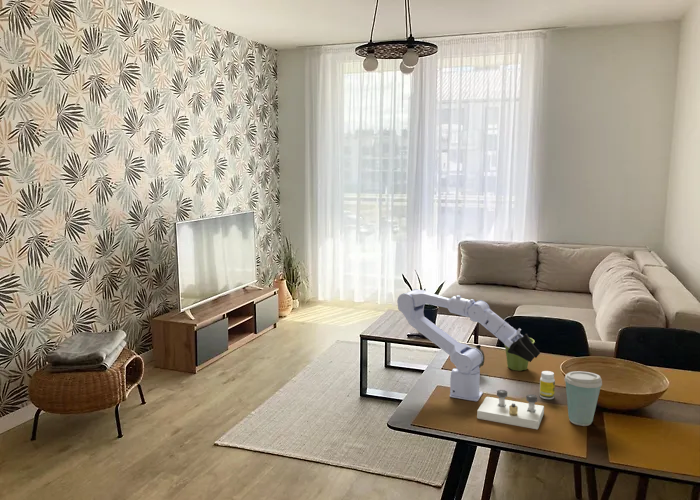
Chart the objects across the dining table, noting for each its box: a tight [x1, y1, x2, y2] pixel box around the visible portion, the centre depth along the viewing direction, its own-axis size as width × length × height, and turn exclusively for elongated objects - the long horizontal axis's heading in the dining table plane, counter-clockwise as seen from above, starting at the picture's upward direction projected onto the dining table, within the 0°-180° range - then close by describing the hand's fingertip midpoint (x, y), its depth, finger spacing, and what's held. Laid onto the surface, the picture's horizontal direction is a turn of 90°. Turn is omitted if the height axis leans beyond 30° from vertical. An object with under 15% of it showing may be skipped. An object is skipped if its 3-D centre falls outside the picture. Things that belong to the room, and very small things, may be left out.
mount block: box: [476, 396, 545, 430], centre depth 178 cm, size 18×12×2 cm, turn 63°
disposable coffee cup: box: [564, 370, 603, 427], centre depth 173 cm, size 11×11×15 cm
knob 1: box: [496, 389, 508, 406], centre depth 180 cm, size 3×3×4 cm
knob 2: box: [526, 394, 538, 411], centre depth 176 cm, size 3×3×4 cm
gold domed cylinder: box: [509, 404, 518, 416], centre depth 174 cm, size 2×2×3 cm
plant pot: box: [503, 337, 536, 372], centre depth 219 cm, size 12×12×11 cm
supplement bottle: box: [539, 370, 556, 400], centre depth 192 cm, size 5×5×8 cm
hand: (535, 357), depth 179 cm, fingers open, 7 cm apart
